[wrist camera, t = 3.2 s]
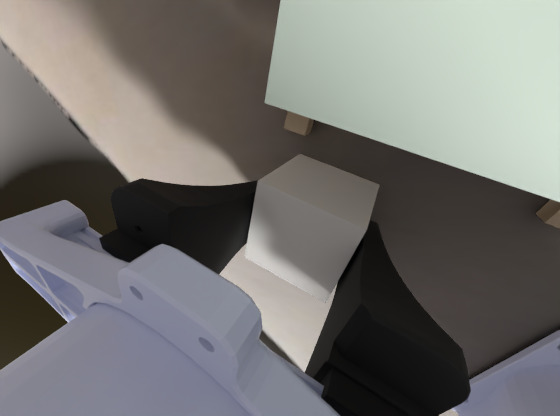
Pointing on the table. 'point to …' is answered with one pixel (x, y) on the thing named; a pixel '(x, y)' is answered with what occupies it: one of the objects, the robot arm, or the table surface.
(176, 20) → the table surface
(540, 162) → the trapdoor
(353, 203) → the light grey cube
